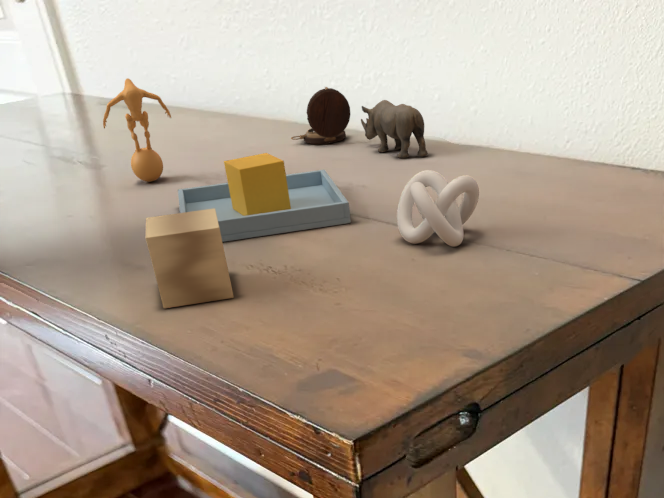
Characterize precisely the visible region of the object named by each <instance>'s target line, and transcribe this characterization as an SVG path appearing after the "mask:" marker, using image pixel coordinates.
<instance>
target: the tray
mask: <svg viewBox="0 0 664 498" xmlns="http://www.w3.org/2000/svg"><path fill="white" fill-rule="evenodd" d="M286 179H287V186H288V192H289V199H290V206H291V209H288V210H281V211H274V212H267V213H260V214H253V215H246V216H243V215H242V214H240V213H238V212H237V211H235V210H234V209H233V207H232V201H231V196H230V191H229V186H228V182H222V183H215V184H208V185H200V186H193V187H185V188H179V189H177V196H178V198H177V199H178V206H179V207H178V208H179V209H178V210H179V213H185V212H192V211H199V210H206V209H213V208H215V210H216V215H217V219H218V223H219V228H220V233H221V238H222V243H223V242H224V243H225V242H231V241H239V240H245V239H251V238H257V237H265V236H273V235H277V234H278V235H279V234H285V233H292V232H293V233H294V232H299V231H305V230H311V229H313V230H314V229H319V228H325V227H332V226H339V225H347V224H351V222H352V221H351V211H350V203H349V201H348V199H347V198H346V197H345V196H344V194H343V193H342V191H341V190H340V189H339V187H338V186H337V185H336V183H335V181H334V180H333V179H332V178H331V176H330V175H329V173H328V172H327V171H326V169H318V170H310V171H302V172H295V173H289V174H288V173H286Z"/></svg>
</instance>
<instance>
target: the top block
mask: <svg viewBox="0 0 664 498" xmlns="http://www.w3.org/2000/svg"><path fill="white" fill-rule="evenodd" d="M223 164H224V165H223V166H224V169H225V174H226V181H227V183H228V186H229V191H230V196H231V201H232V207H233V209H234V210H235V211H237V212H238V213H240V214H242V215H243V216H246V215H253V214H260V213H267V212H274V211H281V210H288V209H291V206H290V199H289V192H288V186H287V179H286V175H287V173H286V167H285V161H284V160H283V159H281V158H278V157H276V156H275V155H272V154H270V153H268V152H263V153H259V154H253V155H249V156H243V157H238V158H233V159H228V160H224V161H223Z"/></svg>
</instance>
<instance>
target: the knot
mask: <svg viewBox="0 0 664 498" xmlns="http://www.w3.org/2000/svg"><path fill="white" fill-rule="evenodd" d="M427 187H430V188H431V189H432V190H433V191H434V192H435V193H436V195H437V197H436V198H435V200H433V198H432V197H431V195H430V193H429V191H428V190H427ZM461 195H463V198H462V200H461V202H460V204H459V206H458V202H457V199H458V197H460V196H461ZM479 198H480V187H479V183H478V181H477V180H476V179H475V178H474V177H473V176H470V175H466V174H465V175H459V176H457V177H455V178H454V179H452V180H450V181H449V182H448V180H447V179H446V178H445V177H444V175H442V174H441V173H439V172H438V171H436V170H433V169H424V170H421V171H419V172H417V173H416V174H414V175H413V176H412V177H411V178H410V179H409V180H408V181H407V183H406V184H405V186H404V188H403V189H402V192H401V194H400V197H399V200H398V202H397V208H396V209H397V210H396V225H397V228H398V232H399V234H400V236H401V238H403V239H404V240H405V241H406V242H408V243H409V244H414V245H415V244H416V245H417V244H421V243H423V242H425V241H426V240H428V239H429V238H430V237H431V236H432V235H433V234H434V233H435V234H436V235H437V236H438V237H439V238H440V240H441V241H442V242H444V243H445V244H446V245H448V246H450V247H459V246H460V245H461V244H462V242H463V240H464V233H465V232H464V226H463V225H464V224H465V223H466V222H467V221H468V220H469V219H470V217H471V216H472V215H473V213H474V212H475V209H476V207H477V205H478V203H479ZM414 205H415V207H416V209H417V211H418V213H419V215H420V216H421V219H422V222H421V223H420V224H419V225H418V226H416V227H414V225H413V218H412V216H413V208H414Z"/></svg>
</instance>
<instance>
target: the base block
mask: <svg viewBox="0 0 664 498" xmlns="http://www.w3.org/2000/svg"><path fill="white" fill-rule="evenodd" d="M145 242H146V246H147V249H148V253H149V257H150V261H151V265H152V269H153V272H154V276H155V280H156V285H157V287H158V288H157V289H158V291H159V296H160V299H161V303H162V307H163V309H170V308H177V307H184V306H189V305H197V304H202V303H209V302H216V301H222V300H228V299H233V298H234V297H235V296H234V291H233V288H232V283H231V278H230V273H229V268H228V263H227V257H226V253H225V248H224V243H223V242H222V238H221V233H220V228H219V223H218V219H217V215H216V210H215V208H213V209H206V210H199V211H192V212H185V213H180V212H179V213H178V212H177V213H171V214H164V215H157V216H150V217H145Z"/></svg>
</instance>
